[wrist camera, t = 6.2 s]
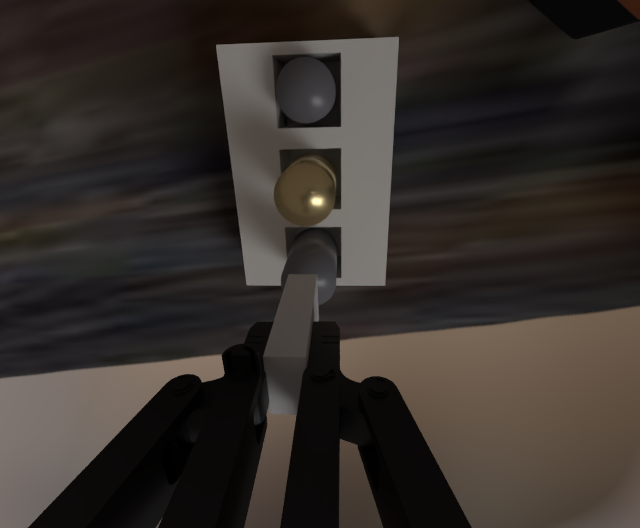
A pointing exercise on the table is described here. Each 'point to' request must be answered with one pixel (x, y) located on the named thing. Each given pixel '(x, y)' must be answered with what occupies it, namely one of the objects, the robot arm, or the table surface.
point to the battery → (589, 14)
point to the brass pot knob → (306, 190)
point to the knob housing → (313, 151)
